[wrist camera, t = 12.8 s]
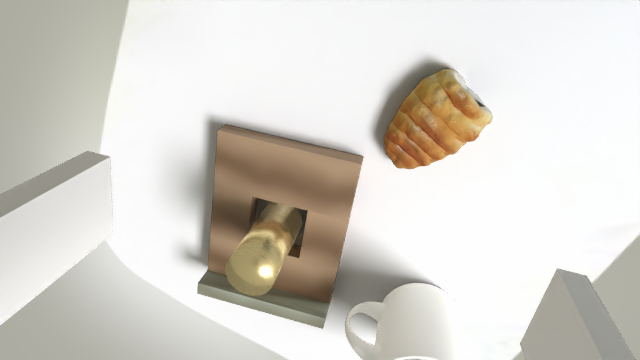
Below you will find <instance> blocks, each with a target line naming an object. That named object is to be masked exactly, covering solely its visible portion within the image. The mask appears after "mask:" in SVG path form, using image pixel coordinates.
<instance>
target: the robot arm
mask: <svg viewBox="0 0 640 360" xmlns="http://www.w3.org/2000/svg"><path fill="white" fill-rule="evenodd" d="M113 233H114V232H113V208H112V184H111V161H110V157H109V156H105V155H101V154H97V153H93V152H89V151H87V152H84V153H83V154H81V155H79V156H76V157H74V158H72V159H70V160H68V161H66V162H64V163H62V164H60V165H58V166H56V167H54V168H52V169H50V170H48V171H46V172H44V173H42V174H40V175H38V176H36V177H34V178H32V179H30V180H28V181H26V182H24V183H22V184H20V185H18V186H16V187H14V188H12V189H10V190H8V191H6V192H4V193H2V194H0V325H1V324H2V323H4V322H5V321H6V320H7V319H9V318H10V317H11V316H12V315H13V314H15V313H16V312H17V311H18V310H20V309H21V308H22V307H23V306H25V305H26V304H27V303H28V302H29V301H31V300H32V299H33V298H34V297H36V296H37V295H38V294H39V293H41V292H42V291H43V290H44V289H46V288H47V287H48V286H49V285H50V284H51V283H53V282H54V281H55V280H57V279H58V278H59V277H60V276H62V275H63V274H64V273H65V272H66V271H68V270H69V269H70V268H71V267H73V266H74V265H75V264H76V263H78V262H79V261H80V260H81V259H82V258H84V257H85V256H86V255H87V254H89V253H90V252H91V251H92V250H94V249H95V248H96V247H97V246H99V245H100V244H101V243H102V242H103V241H105V240H106V239H107V238H108V237H110V236H111V235H112V234H113ZM520 345H521V348H522V352H523V355H524V358H525V360H636V359H635V357H634V356H633V354H632V352H631V351H630V349H629V347H628V345H627V344H626V342H625V340H624V338H623V337H622V335H621V333H620V332H619V330H618V328H617V327H616V325H615V323H614V321H613V320H612V318H611V316H610V315H609V313H608V311H607V310H606V308H605V306H604V304H603V303H602V301H601V299H600V298H599V296H598V294H597V292H596V291H595V289H594V287H593V286H592V284H591V282H590V280H589V279H588V277H587V276H585V275H581V274H577V273H573V272H569V271H565V270H561V269H557V270H556V272H555V274H554V276H553V278H552V280H551V282H550V284H549V286H548V288H547V290H546V292H545V294H544V296H543V298H542V300H541V302H540V304H539V306H538V308H537V310H536V312H535V314H534V316H533V318H532V320H531V322H530V324H529V326H528V329H527V331H526V333H525V335H524V337H523V339H522V341H521V343H520Z"/></svg>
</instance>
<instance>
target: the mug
mask: <svg viewBox="0 0 640 360" xmlns="http://www.w3.org/2000/svg"><path fill="white" fill-rule="evenodd" d="M356 313H365V314H367V315H369V316H371V317H372V318H374V319H375V320H376V321H377V322H378V326H377V334H376V342H375V345H372V344H370V343H367V342H365V341H363V340H362V339H360V338H359V337H358V336H357V335H356V334H355V333H354V332H353V331H352V329H351V327H350V319H351V317H352V316H353V315H354V314H356ZM345 333H346V337H347V339H348V341H349V343H350V345H351V346H352V348H353V349H354V351H355V352H356V353H357V354H358V355H359V356H360V357H361V358H362V359H363V360H467V358H466V350H465V343H464V335H463V328H462V321H461V316H460V312H459V309H458V307H457V305H456V303H455V301H454V300H453V299H452V298H451V297H450V296H449V295H448V294H447V293H446V292H445V291H443V290H442V289H440V288H438V287H436V286H433V285H430V284H425V283H409V284H404V285H402V286H399V287H397V288H395V289H394V290H392V291H391V292H390V293H389V294H388V295H387V296H386V297H385V298H384V300H383V302H382V303H381V302H363V303H360V304H358V305H356V306H354V307H353V308H352V309H351V310H350V312H349V313H348V315H347V318H346V321H345Z"/></svg>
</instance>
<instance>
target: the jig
mask: <svg viewBox="0 0 640 360" xmlns="http://www.w3.org/2000/svg"><path fill="white" fill-rule="evenodd" d="M362 161H363V156H358V155H354V154H350V153H345V152H341V151H337V150H333V149H328V148H324V147H320V146H315V145H311V144H307V143H303V142H298V141H294V140H290V139H286V138H281V137H277V136H273V135H268V134H264V133H260V132H256V131H251V130H247V129H243V128H238V127H234V126H230V125H224V126H223V127H222V128H220V129H219V130H218V132H217V146H216V160H215V174H214V188H213V202H212V216H211V230H210V244H209V258H208V270H207V272H206V273H205V274H204V276H203V277H202V278H201V280H200V281H199V282H198V292H197V293H198V294H201V295H205V296H208V297H212V298H216V299H219V300H223V301H226V302H230V303H233V304H237V305H241V306H244V307H248V308H251V309H255V310H258V311H262V312H265V313H269V314H273V315H276V316H280V317H283V318H287V319H290V320H294V321H297V322H301V323H305V324H308V325H312V326H315V327H319V328H322V329H323V327H324V323H325V319H326V316H327V312H328V308H329V305H330V301H331V297H332V292H333V288H334V284H335V279H336V275H337V271H338V266H339V262H340V257H341V253H342V249H343V244H344V240H345V236H346V231H347V227H348V223H349V218H350V214H351V209H352V205H353V201H354V196H355V192H356V188H357V183H358V179H359V175H360V170H361V166H362ZM257 198H259V199H263V200H267V201H271V202H275V203H279V204H283V205H287V206H291V207H295V208H299V209H303V210H307V211H308V212H307V218H306V224H305V229H304V235H303V240H302V246H301V247H297V246H293V245H292V247H291V249H290V251H289V253H288V255H287V257H286V259H285V261H284V263H283V265H282V268H281V270H280V272H279V274H278V276H277V278H276V280H275V282H274V284H273V286H272V288H271V289H270V290H269V291H268V292H267V293H265V294H263V295H259V296H251V295H246V294H243V293H241V292H239V291H238V290H236V289H235V288H234V287H233V286H232V285H231V284H230V283H229V281H228V279H227V277H226V273H225V267H226V263H227V261H228V260H229V258H230V257H231V256H232V254H233V253H234V251H235V250H236V248H237V247H238V246H239V244H240V243H241V241H242V240H243V238H244V237H245V236H246V234H247V233H248V231H249V230H250V228H251V227H252V226H253V224H254V222H255V213H256V205H257Z"/></svg>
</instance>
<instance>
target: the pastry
mask: <svg viewBox="0 0 640 360" xmlns="http://www.w3.org/2000/svg"><path fill="white" fill-rule="evenodd" d="M491 121H492V113H491V111H490V110H489V109H488V108H487V107H486V106H485V105H483V102H482V100H481V99H480V98H479V97H478V95H476V94H475V93H474V92H473V91H472V90H470V89H469V88H468V87H466V83H465V80H464V78H463V77H462V76H461V75H460V74H459V73H458V72H457V71H455V70H452V69H444V70H441V71H439V72H437V73H435V74H433V75H431V76H428V77H426V78H424V79H422V80H421V81H420V82H419V84H418V85H417V86H416V88H415V89H414V90H413V91H412V92H411V93H410V94H409V95H408V96H407V97H406V98H405V100H404V101H403V103H402V105H401V106H400V108H399V109H398V112H397V114H396V115H395V117H394V119H393V120H392V122H391V123H390V125H389V127H388V129H387V132H386V134H385V136H384V145H385V148H384V149H385V152H386V154H387V155H388V157H389V158H390V159H391V160H392V162H393V164H394V165H395V166H396V167H397V168H406V169H414V168H416V167H419V166H428V165H430V164H431V163H433V162H435V161H438V160H441V159H443V158H445V157H446V156H447V155H450V154H455V153H456V152H457V151H458V150H459V149H460V148H461V146H463V145H465V143H466V142H470V141H474V140H475V139H476V138H477V137H478V136H479V134H480V132H481V130H482V129H483V128H484V127H485V126H486V125H487V124H490V122H491Z"/></svg>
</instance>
